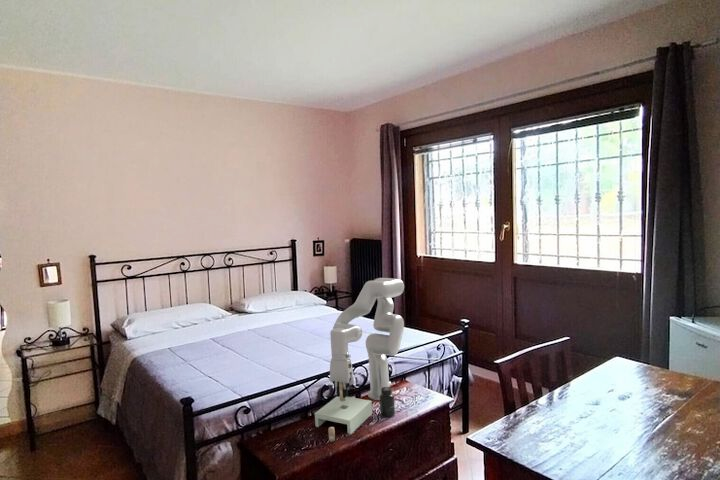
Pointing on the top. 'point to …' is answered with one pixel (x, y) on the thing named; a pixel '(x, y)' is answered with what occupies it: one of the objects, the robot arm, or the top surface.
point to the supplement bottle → (387, 402)
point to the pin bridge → (345, 412)
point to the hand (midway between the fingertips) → (342, 395)
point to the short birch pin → (331, 434)
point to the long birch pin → (341, 391)
